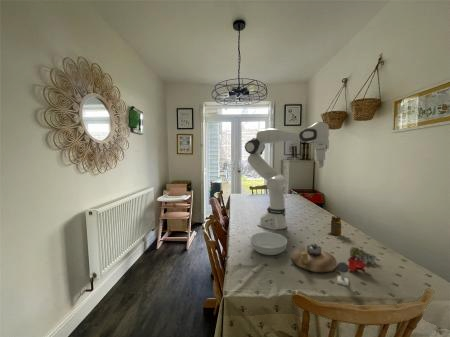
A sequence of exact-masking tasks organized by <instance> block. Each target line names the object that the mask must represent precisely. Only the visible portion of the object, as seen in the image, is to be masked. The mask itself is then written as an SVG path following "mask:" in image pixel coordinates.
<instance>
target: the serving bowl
mask: <svg viewBox="0 0 450 337" xmlns="http://www.w3.org/2000/svg"><path fill="white" fill-rule="evenodd" d="M249 242H250V245H251V247H252V248H253V250H255V251H256V252H258V253H259V254H261V255H265V256H275V255H279V254H281V253H282V252H284V251H285V250H286V248H287V246H288V239H287V238H286V237H285V235H282V234H280V233H277V232H271V231H270V232H269V231H265V232H264V231H263V232H257V233H255V234H252V235H251V237H250V240H249Z"/></svg>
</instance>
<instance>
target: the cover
mask: <svg viewBox="0 0 450 337" xmlns="http://www.w3.org/2000/svg"><path fill="white" fill-rule="evenodd" d="M306 248H307V253H308V254H309V255H312V256H321V250H322V247H321V246H320V245H318V244H316V243H311V244H307V246H306Z"/></svg>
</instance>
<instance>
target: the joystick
mask: <svg viewBox="0 0 450 337" xmlns="http://www.w3.org/2000/svg"><path fill="white" fill-rule="evenodd" d="M348 265H349V264H347V263H346V262H344V261H340V262H338V263H337V270H338V271H339V272H340V275H337V276H336V277H337V279H336V280H337V281H336V283H337V284H339V285H344V286H346V285H347V287H348V286H349V278H347V277H345V274H346V273H348V272H349V269H348Z"/></svg>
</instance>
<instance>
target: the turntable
mask: <svg viewBox="0 0 450 337" xmlns="http://www.w3.org/2000/svg"><path fill="white" fill-rule="evenodd" d="M290 256H291V261H292V262H293V263H294V264H295V265H296V266H297V267H300V268H301V269H303V270H306V271H310V272H314V273H328V272H332V271H334V270H335V269H336V268H337V267H338V263H337V262H338V261H337V259H336V257H335V256H333V255H332V254H331V253H329V252H327V251H325V250H322V249H321V256H312V255H309V254H308V253H307V247H300V248H299V247H298V248H296V249H294V250H293V251H292V252H291V253H290Z"/></svg>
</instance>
